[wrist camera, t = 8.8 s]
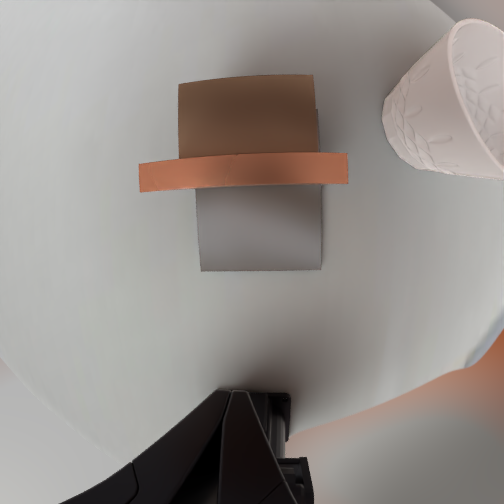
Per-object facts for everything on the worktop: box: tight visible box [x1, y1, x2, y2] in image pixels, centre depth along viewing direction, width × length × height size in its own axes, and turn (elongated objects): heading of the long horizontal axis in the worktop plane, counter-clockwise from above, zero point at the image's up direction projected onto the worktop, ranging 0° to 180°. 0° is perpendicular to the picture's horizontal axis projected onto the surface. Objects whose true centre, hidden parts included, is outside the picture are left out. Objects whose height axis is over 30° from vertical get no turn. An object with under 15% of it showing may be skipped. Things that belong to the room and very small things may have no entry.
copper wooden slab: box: [139, 152, 348, 192], centre depth 13 cm, size 5×7×9 cm
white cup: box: [382, 18, 504, 180], centre depth 11 cm, size 8×8×10 cm
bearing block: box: [178, 75, 322, 271], centre depth 15 cm, size 10×8×7 cm
